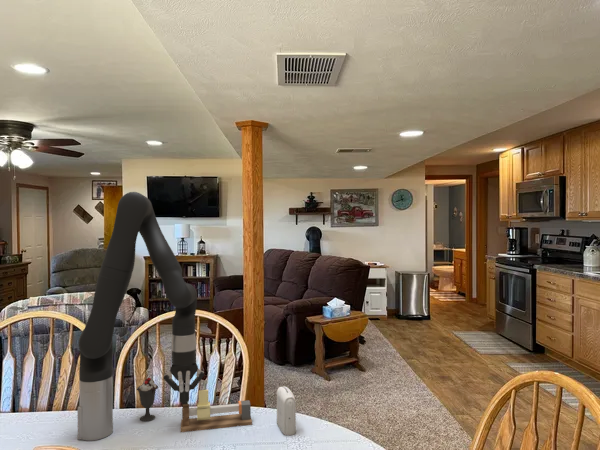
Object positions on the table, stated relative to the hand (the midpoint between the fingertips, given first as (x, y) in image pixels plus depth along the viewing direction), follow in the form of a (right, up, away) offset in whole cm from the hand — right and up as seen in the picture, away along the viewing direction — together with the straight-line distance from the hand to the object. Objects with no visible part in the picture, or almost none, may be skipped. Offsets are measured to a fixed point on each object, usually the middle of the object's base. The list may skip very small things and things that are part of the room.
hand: (184, 402), depth 140 cm
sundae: (-14, -8, +7) cm, 17 cm away
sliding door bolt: (+10, -6, +2) cm, 12 cm away
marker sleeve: (+6, -5, +1) cm, 8 cm away
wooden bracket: (+10, -8, +2) cm, 12 cm away
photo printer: (+32, -8, -2) cm, 33 cm away
